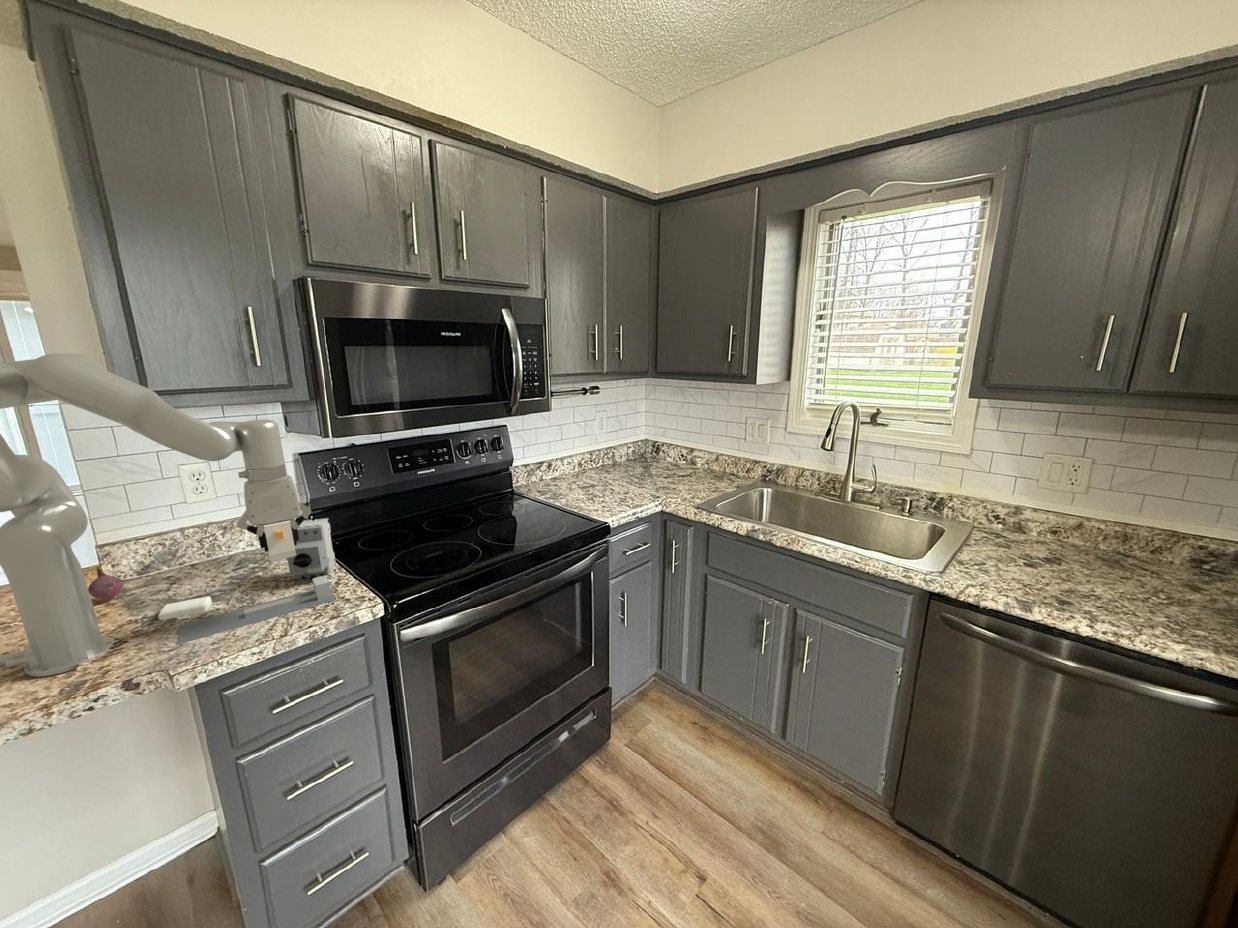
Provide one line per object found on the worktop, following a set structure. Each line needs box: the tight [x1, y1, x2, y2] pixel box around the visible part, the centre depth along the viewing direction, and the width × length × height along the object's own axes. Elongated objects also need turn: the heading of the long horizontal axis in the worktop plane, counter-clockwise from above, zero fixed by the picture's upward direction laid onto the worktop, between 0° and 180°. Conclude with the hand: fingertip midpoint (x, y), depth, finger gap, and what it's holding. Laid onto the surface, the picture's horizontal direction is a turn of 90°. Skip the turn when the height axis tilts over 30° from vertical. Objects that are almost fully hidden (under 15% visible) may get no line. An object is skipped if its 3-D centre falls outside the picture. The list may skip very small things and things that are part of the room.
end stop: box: [312, 575, 332, 600], centre depth 125 cm, size 3×5×4 cm, turn 39°
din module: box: [263, 520, 296, 562], centre depth 117 cm, size 5×9×8 cm, turn 39°
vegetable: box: [88, 564, 124, 602], centre depth 125 cm, size 6×6×10 cm
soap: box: [157, 596, 213, 621], centre depth 119 cm, size 9×6×3 cm, turn 118°
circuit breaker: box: [286, 517, 336, 579], centre depth 136 cm, size 8×14×15 cm, turn 16°
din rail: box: [244, 591, 317, 618], centre depth 120 cm, size 15×2×1 cm, turn 129°
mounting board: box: [176, 588, 336, 646], centre depth 118 cm, size 30×10×1 cm, turn 129°
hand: (280, 546), depth 118 cm, fingers closed on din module, 5 cm apart
